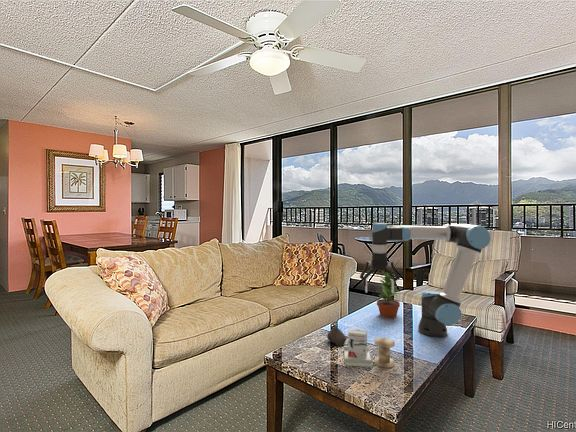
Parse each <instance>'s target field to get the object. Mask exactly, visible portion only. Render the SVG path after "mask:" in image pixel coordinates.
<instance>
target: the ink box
mask: <svg viewBox="0 0 576 432" xmlns="http://www.w3.org/2000/svg"><path fill="white" fill-rule="evenodd" d="M347 339H348V341H347V346H348V357H355V358H363V359H366V358H367V347H368V330H366V329H356V328H349V329H348V333H347Z"/></svg>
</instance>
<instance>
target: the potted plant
mask: <svg viewBox="0 0 576 432" xmlns="http://www.w3.org/2000/svg"><path fill="white" fill-rule="evenodd" d="M381 273H382V274H383V276H384V277H382V276H380V278H381V279H379V283H380V285H381V286H380V287H382V292H383V293H380V294H378V296H379V297H380V298H381V299H378V300H377V301H376V305H377V308H378V311H379V315H380V317H383V318H384V319H385V318H386V319H395V318H396V317H397V315H398V310H399V308H400V307H401V303H400V301H398V300H395V298H396V295H398V294H400V292H398V291H400V289H396V288H397V287H398V285H396V287H394V293H392V280H393V278H392V277H391V276H390V275H389V274H388V273H387V271H386V272H384V270H381ZM391 274H392V273H391ZM392 275H393V276H395V274H394V273H393V274H392ZM397 281H398V280H396V282H397ZM393 296H394V297H393Z"/></svg>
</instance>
